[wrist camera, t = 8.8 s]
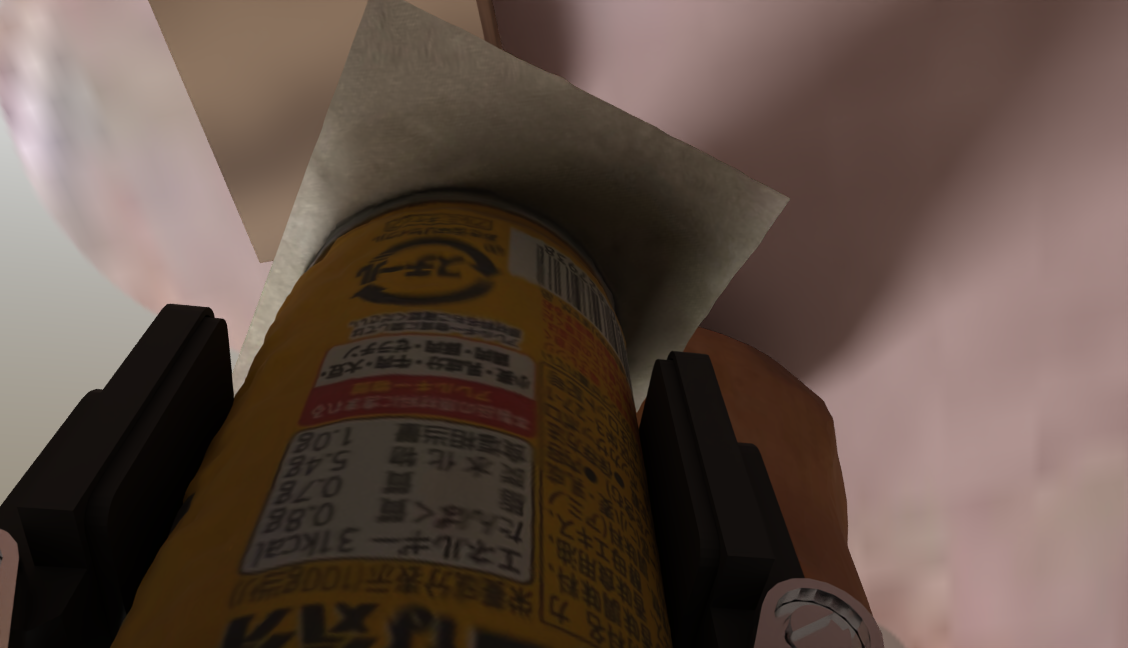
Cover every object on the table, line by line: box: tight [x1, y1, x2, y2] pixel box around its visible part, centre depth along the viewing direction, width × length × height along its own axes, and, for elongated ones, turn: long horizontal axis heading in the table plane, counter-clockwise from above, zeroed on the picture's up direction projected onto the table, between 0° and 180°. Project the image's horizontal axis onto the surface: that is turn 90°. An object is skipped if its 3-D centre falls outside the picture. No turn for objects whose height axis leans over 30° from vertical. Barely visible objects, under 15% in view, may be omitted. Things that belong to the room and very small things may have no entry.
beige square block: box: [148, 0, 502, 263], centre depth 29 cm, size 10×10×5 cm
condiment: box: [110, 0, 790, 648], centre depth 10 cm, size 7×8×12 cm
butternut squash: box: [636, 327, 873, 616], centre depth 29 cm, size 14×13×25 cm
